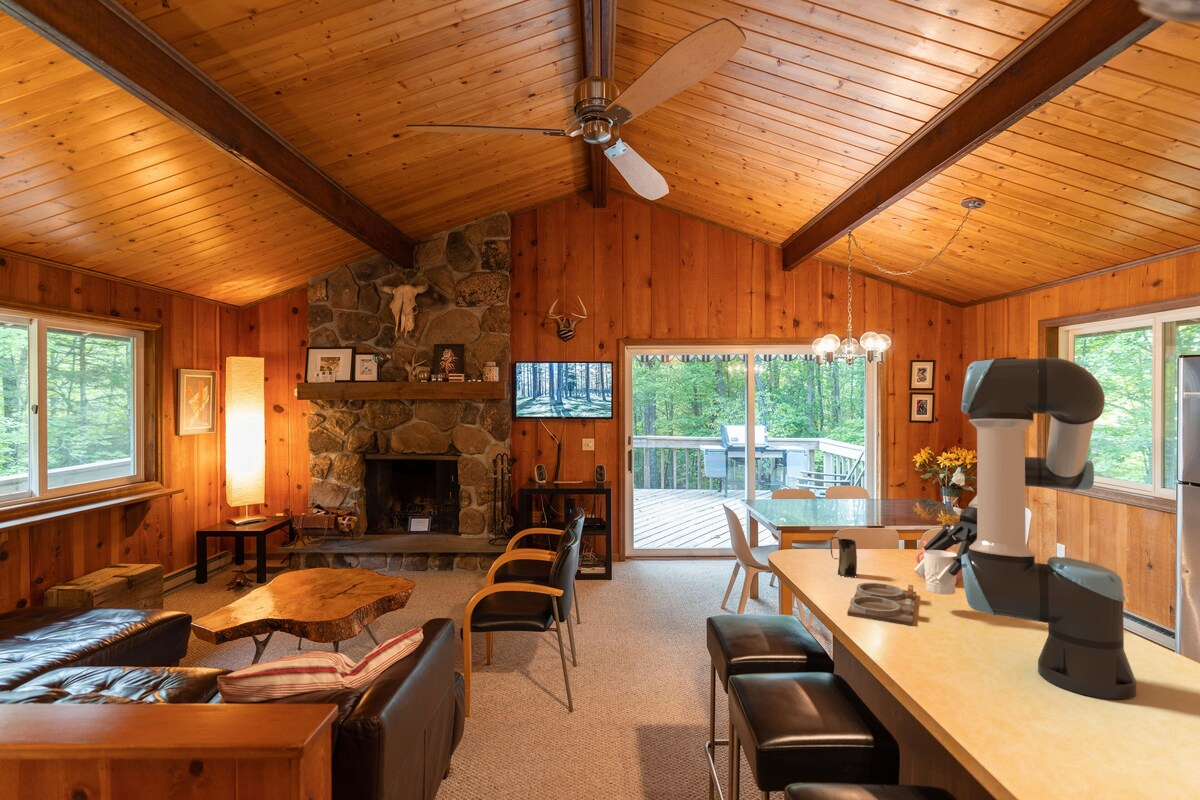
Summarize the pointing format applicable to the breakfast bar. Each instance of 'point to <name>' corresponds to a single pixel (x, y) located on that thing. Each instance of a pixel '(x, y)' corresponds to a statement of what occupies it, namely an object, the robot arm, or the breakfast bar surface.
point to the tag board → (883, 603)
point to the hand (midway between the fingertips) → (929, 577)
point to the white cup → (938, 571)
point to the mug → (846, 557)
